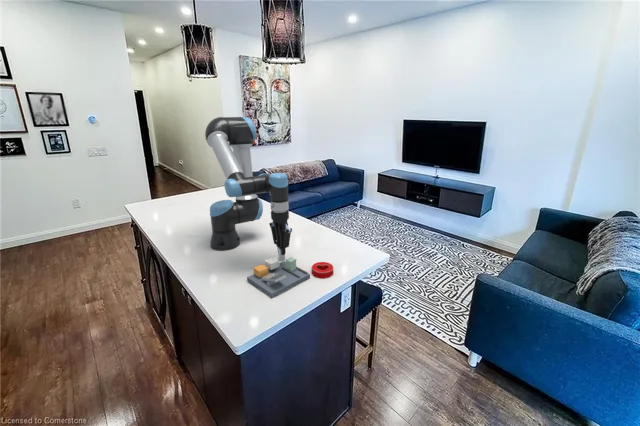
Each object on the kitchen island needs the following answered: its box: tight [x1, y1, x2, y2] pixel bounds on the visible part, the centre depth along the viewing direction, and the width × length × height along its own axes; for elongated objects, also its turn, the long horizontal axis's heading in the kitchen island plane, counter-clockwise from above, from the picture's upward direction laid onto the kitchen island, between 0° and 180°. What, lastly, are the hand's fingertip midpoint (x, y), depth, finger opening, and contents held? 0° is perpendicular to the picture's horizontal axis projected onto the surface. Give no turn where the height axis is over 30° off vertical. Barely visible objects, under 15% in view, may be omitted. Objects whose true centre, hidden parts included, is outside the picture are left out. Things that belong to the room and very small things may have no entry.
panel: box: [246, 260, 311, 299], centre depth 123 cm, size 17×20×4 cm
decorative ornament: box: [311, 261, 335, 279], centre depth 129 cm, size 10×10×3 cm
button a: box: [252, 264, 268, 278], centre depth 123 cm, size 4×4×3 cm
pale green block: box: [285, 256, 297, 271], centre depth 127 cm, size 3×3×5 cm
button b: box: [264, 257, 280, 270], centre depth 126 cm, size 4×4×3 cm
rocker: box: [261, 273, 286, 282], centre depth 117 cm, size 10×5×1 cm, turn 45°
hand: (281, 260), depth 131 cm, fingers closed
